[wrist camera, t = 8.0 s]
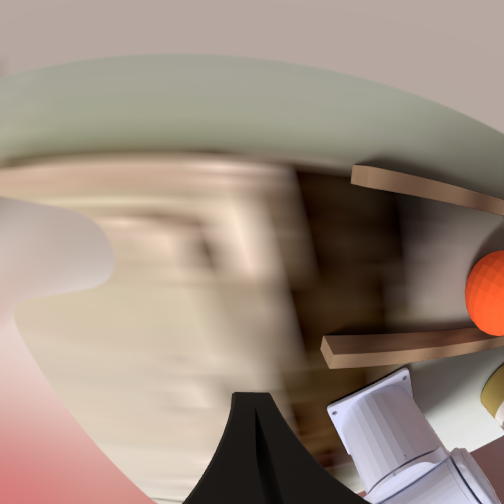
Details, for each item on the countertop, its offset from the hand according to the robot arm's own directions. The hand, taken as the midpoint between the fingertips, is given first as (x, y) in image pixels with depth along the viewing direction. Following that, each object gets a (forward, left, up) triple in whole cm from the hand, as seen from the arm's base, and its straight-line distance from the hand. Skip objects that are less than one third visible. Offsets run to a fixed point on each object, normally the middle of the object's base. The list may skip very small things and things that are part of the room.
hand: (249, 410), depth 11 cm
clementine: (-8, -19, -11) cm, 23 cm away
